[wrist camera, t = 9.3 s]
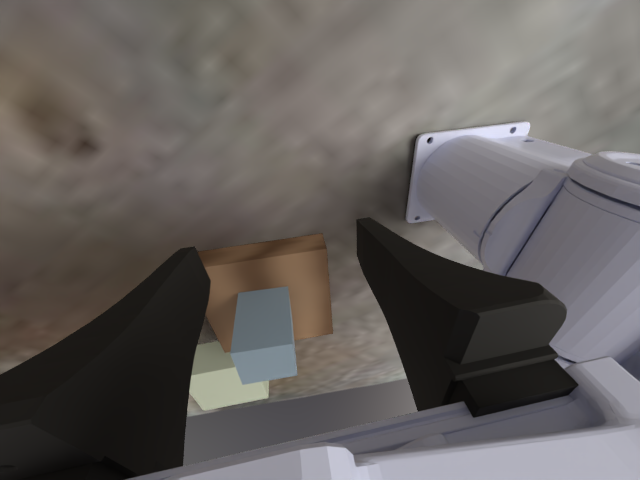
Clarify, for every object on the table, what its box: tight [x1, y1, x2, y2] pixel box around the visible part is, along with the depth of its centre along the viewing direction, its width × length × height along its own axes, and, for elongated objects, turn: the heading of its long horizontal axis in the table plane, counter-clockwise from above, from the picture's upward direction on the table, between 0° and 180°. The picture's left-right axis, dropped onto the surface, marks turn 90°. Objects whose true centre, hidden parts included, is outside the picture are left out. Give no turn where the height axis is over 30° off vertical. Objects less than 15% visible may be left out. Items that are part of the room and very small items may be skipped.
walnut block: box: [198, 233, 333, 353], centre depth 26 cm, size 12×12×3 cm
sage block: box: [189, 341, 269, 411], centre depth 31 cm, size 8×8×4 cm
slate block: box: [230, 286, 297, 385], centre depth 22 cm, size 4×4×6 cm
